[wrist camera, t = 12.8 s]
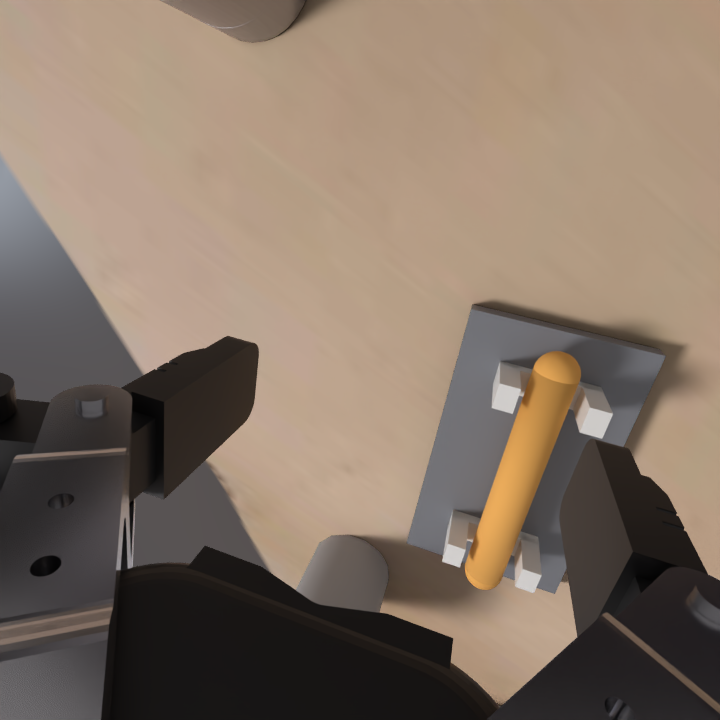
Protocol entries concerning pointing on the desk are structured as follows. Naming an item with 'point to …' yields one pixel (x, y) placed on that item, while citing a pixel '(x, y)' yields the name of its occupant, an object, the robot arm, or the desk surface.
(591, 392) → the board
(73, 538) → the robot arm
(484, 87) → the desk surface
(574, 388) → the orange rod
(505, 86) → the desk surface
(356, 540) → the cup
